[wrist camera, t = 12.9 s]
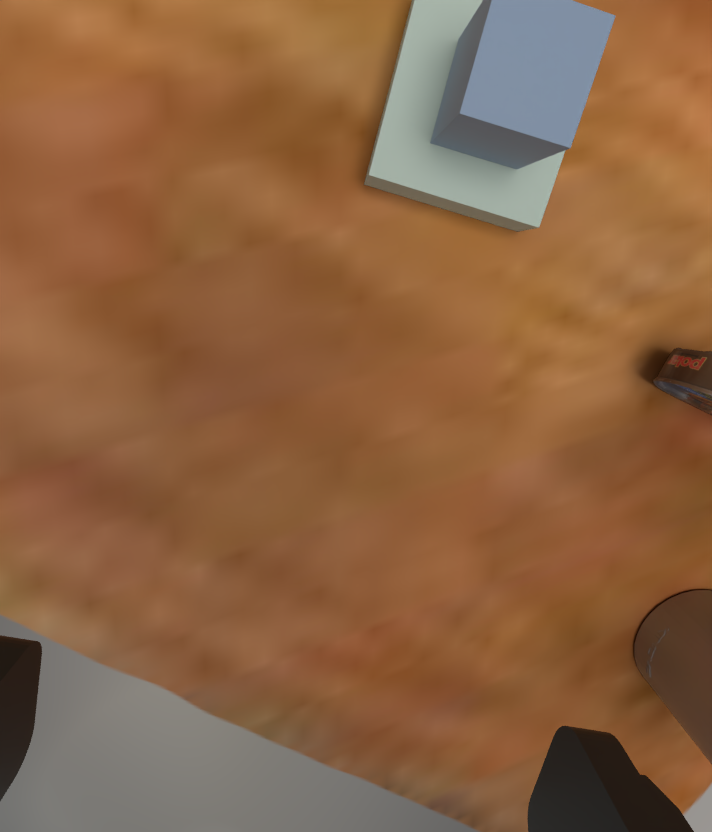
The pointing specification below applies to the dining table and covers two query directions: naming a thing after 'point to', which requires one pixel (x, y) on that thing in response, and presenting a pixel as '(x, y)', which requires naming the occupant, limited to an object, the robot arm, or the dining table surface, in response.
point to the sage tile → (414, 124)
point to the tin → (688, 377)
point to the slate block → (521, 79)
